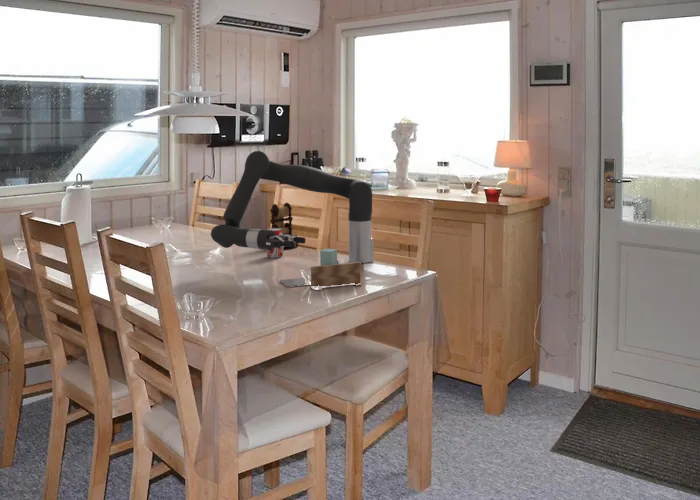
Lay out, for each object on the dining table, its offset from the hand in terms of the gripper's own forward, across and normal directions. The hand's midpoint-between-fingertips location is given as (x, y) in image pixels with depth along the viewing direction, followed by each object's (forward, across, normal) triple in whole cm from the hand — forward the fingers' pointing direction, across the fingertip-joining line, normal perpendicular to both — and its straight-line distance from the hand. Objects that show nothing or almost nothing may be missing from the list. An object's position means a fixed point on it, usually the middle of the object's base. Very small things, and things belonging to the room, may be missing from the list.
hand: (299, 242), depth 264 cm
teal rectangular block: (+12, 0, +14) cm, 18 cm away
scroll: (-37, +55, +14) cm, 68 cm away
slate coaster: (+1, -5, +14) cm, 15 cm away
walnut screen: (+17, -5, +14) cm, 22 cm away
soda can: (-30, +34, +14) cm, 47 cm away
